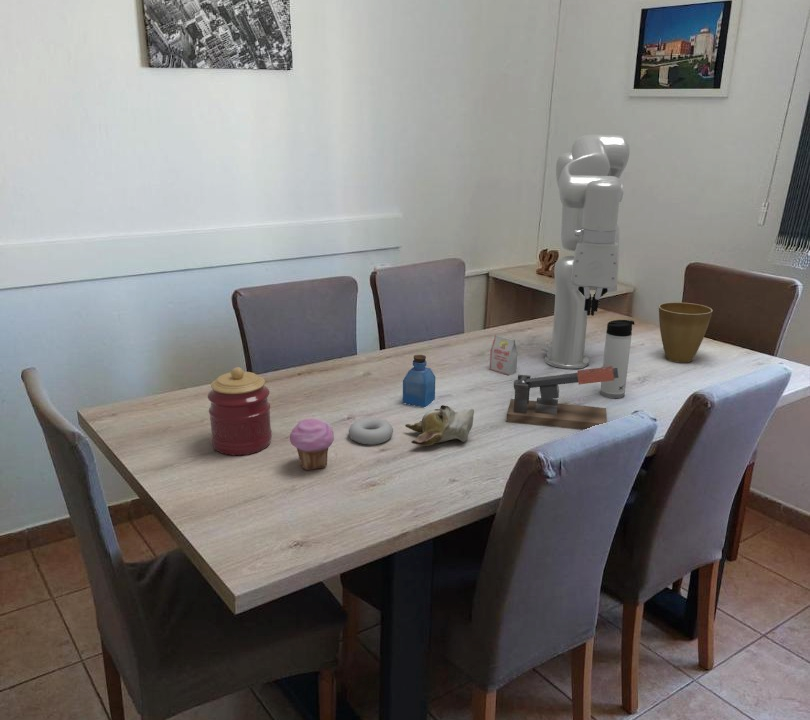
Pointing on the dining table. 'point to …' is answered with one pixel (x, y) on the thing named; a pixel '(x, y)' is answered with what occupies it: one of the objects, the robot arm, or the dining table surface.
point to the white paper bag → (503, 356)
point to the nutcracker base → (562, 416)
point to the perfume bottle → (419, 384)
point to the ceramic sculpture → (443, 426)
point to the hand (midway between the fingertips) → (590, 313)
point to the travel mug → (617, 356)
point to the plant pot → (683, 329)
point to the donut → (370, 431)
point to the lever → (568, 380)
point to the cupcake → (312, 442)
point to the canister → (239, 413)
